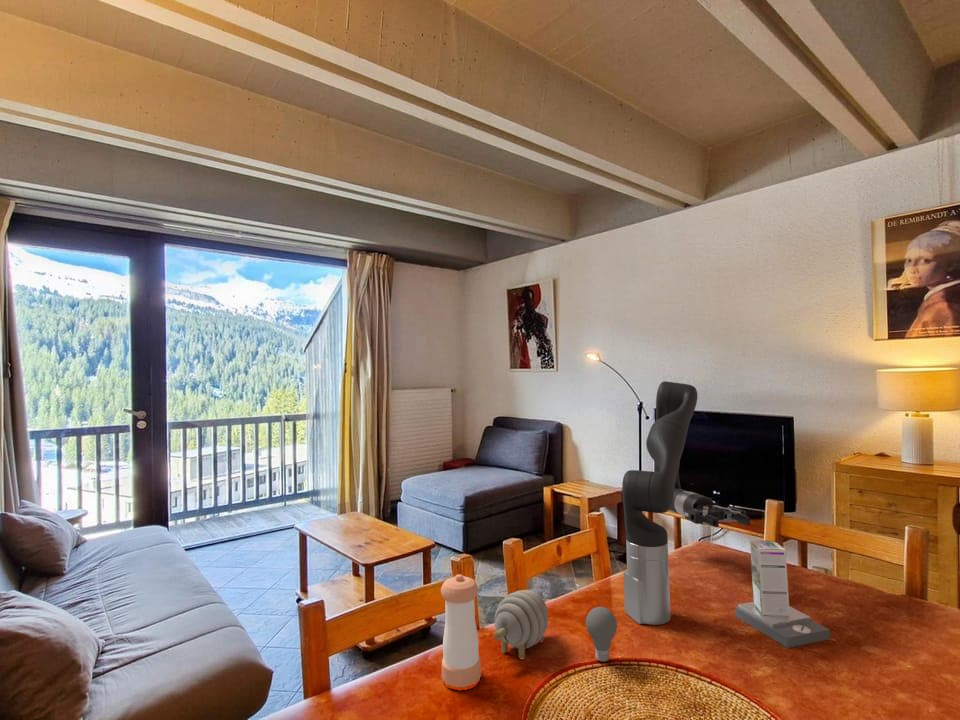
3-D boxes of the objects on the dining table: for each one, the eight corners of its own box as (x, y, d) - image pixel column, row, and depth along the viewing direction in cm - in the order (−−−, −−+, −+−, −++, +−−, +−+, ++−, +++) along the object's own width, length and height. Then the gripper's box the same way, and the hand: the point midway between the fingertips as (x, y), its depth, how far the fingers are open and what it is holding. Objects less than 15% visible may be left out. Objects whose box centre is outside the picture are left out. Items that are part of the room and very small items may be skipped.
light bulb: (596, 671, 94) (594, 617, 94) (581, 654, 100) (580, 603, 100) (624, 665, 96) (622, 612, 96) (608, 649, 101) (606, 599, 102)
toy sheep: (560, 636, 107) (559, 584, 107) (525, 677, 93) (524, 617, 93) (517, 624, 113) (516, 574, 113) (477, 661, 98) (476, 604, 99)
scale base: (787, 647, 100) (786, 636, 100) (735, 616, 114) (735, 605, 114) (830, 639, 103) (829, 628, 103) (774, 609, 117) (774, 599, 117)
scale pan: (772, 627, 104) (772, 624, 105) (738, 607, 114) (738, 604, 114) (810, 620, 107) (810, 617, 107) (774, 601, 116) (773, 598, 116)
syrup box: (790, 617, 107) (787, 549, 108) (761, 615, 108) (758, 548, 109) (780, 605, 113) (777, 540, 113) (751, 603, 114) (749, 539, 114)
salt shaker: (436, 688, 90) (434, 581, 91) (448, 665, 97) (446, 566, 98) (475, 693, 88) (473, 584, 89) (484, 670, 95) (482, 569, 96)
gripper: (670, 494, 138) (706, 508, 122) (717, 492, 140) (758, 505, 124) (671, 522, 137) (707, 539, 121) (718, 519, 140) (759, 536, 124)
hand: (733, 522), depth 123 cm, fingers open, 8 cm apart
